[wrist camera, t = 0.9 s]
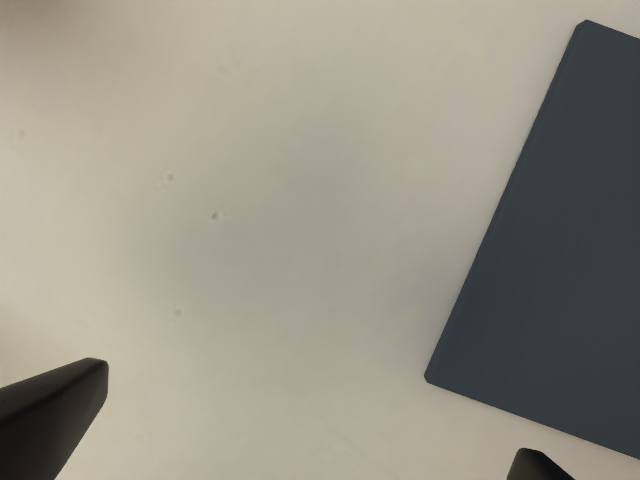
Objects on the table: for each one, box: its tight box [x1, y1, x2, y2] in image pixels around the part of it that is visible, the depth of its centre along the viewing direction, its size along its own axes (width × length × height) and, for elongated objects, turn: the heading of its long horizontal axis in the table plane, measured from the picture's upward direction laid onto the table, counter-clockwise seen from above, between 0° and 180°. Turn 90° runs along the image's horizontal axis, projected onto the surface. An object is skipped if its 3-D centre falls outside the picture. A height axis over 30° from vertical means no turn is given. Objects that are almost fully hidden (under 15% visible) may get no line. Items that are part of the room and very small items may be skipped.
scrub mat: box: [424, 20, 640, 459], centre depth 20 cm, size 20×14×1 cm
